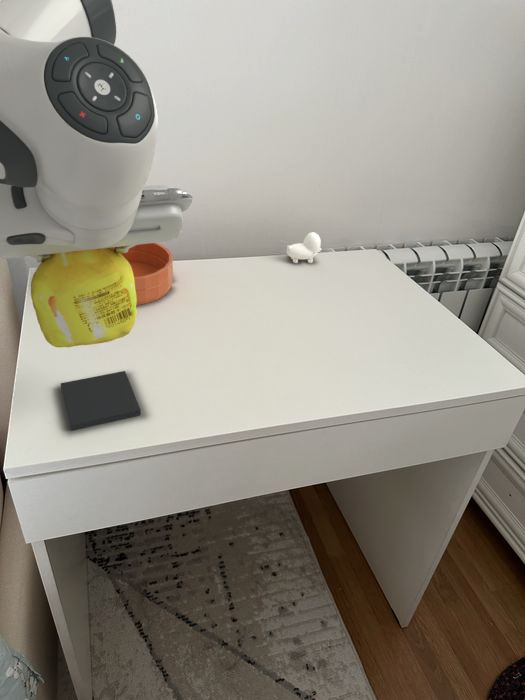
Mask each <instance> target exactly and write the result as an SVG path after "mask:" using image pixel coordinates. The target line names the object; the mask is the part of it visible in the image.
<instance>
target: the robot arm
mask: <svg viewBox="0 0 525 700" xmlns="http://www.w3.org/2000/svg"><path fill="white" fill-rule="evenodd" d="M115 14H116V13H115V10H114V4H113V1H112V0H0V260H6V259H7V260H8V259H17V258H26V257H31V258H34V259H36V263H41V262H44V261H46V260H48V259H51V254H55V253H64V252H74V251H83V250H92V249H102V248H111V247H114V251H115V253H127V252H128V249H129V248H131V247H133V246H135V245H139V244H149V243H169V242H171V241H173V240H174V241H175V239H178V238H179V237H180V236H181V233H182V231H183V226H184V215H183V212H186V211H187V210H188V209H190V206H191V205H192V203H193V195H192V193H191V192H189V191H182V189H181V188H178V187H174V186H172V185H168V184H158V185H146V183H147V181H148V179H149V176H150V172H151V169H152V165H153V161H154V157H155V152H156V146H157V142H158V141H157V139H158V130H159V116H158V114H159V113H158V107H157V102H156V100H155V99H156V98H155V96H154V95H155V94H154V92H153V89H152V87H151V84H150V82H149V80H148V78H147V76H146V74H145V73H144V71H143V70H142V68H141V67H140V66H139V63H137V61H136V60H134V58H133V57H131V56H130V55H129V54H128V53H127V52H125V51H124V50H123V49H122V48H120V47H119V46H117V45H115V43H116V40H117V23H116V15H115Z"/></svg>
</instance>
